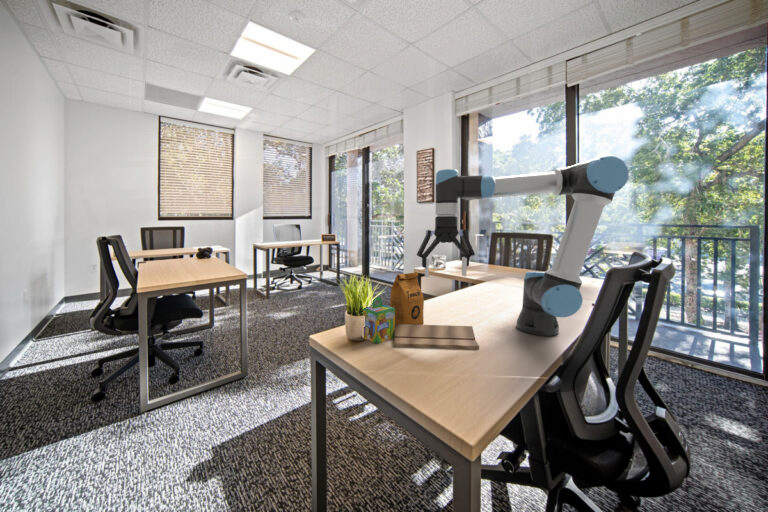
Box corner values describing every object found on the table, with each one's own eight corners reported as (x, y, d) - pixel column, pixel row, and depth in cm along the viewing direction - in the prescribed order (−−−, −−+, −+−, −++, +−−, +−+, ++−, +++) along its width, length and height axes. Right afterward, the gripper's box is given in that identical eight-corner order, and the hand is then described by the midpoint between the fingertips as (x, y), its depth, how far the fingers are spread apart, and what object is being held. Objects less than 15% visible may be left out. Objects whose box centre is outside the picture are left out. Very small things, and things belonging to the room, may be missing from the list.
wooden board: (470, 336, 117) (471, 332, 117) (479, 350, 105) (479, 346, 105) (394, 334, 118) (395, 330, 118) (394, 347, 106) (394, 343, 106)
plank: (471, 328, 116) (472, 326, 115) (474, 341, 111) (475, 338, 110) (395, 326, 117) (395, 324, 117) (394, 338, 112) (394, 336, 111)
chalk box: (377, 345, 108) (377, 303, 106) (359, 337, 115) (359, 297, 113) (395, 338, 114) (396, 298, 113) (378, 331, 121) (378, 293, 119)
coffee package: (427, 328, 124) (428, 273, 122) (402, 335, 116) (403, 276, 114) (410, 322, 132) (411, 269, 130) (386, 327, 124) (387, 272, 122)
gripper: (476, 215, 115) (475, 273, 118) (408, 216, 112) (408, 275, 115) (485, 215, 107) (483, 277, 110) (412, 216, 105) (412, 279, 108)
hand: (445, 276), depth 113 cm, fingers open, 13 cm apart
